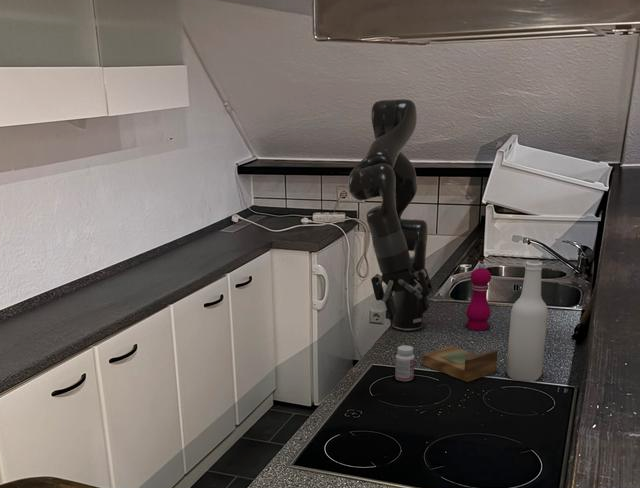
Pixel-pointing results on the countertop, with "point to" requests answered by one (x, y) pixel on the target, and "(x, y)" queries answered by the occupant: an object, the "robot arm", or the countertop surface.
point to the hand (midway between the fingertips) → (409, 312)
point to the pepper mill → (479, 300)
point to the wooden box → (461, 363)
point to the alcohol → (528, 328)
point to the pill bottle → (404, 363)
